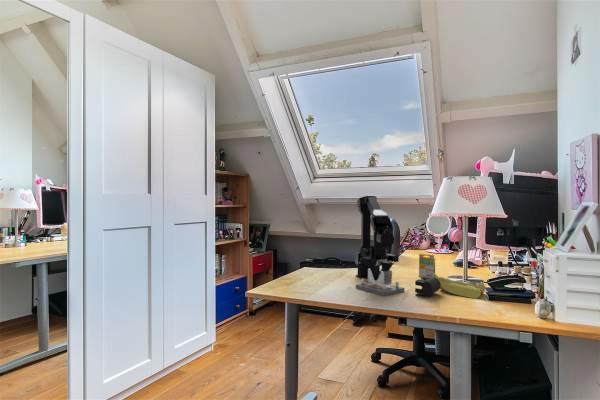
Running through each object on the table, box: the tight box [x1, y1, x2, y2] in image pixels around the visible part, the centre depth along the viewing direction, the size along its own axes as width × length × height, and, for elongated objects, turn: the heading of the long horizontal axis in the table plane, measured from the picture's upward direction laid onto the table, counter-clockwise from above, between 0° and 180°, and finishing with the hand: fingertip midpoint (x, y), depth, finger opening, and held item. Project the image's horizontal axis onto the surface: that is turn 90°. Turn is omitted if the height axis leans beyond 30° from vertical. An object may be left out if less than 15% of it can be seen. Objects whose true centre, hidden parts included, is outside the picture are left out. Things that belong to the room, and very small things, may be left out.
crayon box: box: [418, 253, 436, 278], centre depth 184 cm, size 7×3×12 cm, turn 57°
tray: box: [355, 278, 405, 297], centre depth 158 cm, size 13×16×4 cm
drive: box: [367, 267, 393, 285], centre depth 158 cm, size 5×9×6 cm, turn 37°
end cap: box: [414, 277, 441, 298], centre depth 150 cm, size 10×7×7 cm
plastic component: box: [433, 272, 486, 299], centre depth 155 cm, size 20×7×10 cm
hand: (379, 279), depth 158 cm, fingers closed on drive, 5 cm apart
